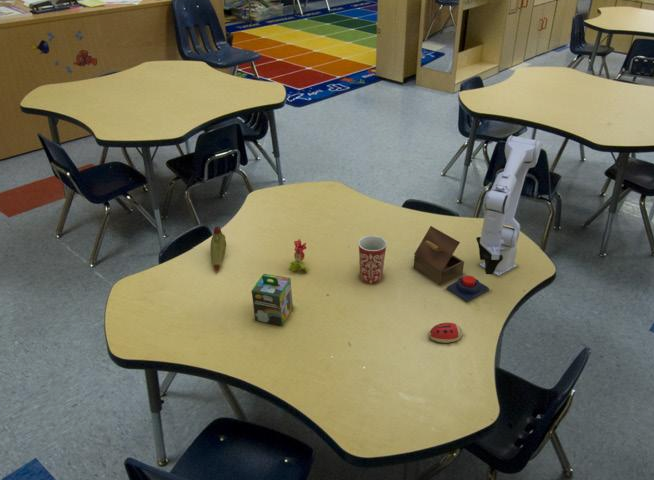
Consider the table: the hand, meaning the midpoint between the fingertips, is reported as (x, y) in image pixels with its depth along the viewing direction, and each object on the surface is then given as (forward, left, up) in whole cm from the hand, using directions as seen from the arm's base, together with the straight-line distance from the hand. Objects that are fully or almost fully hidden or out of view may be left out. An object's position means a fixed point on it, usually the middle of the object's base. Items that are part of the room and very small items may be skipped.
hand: (486, 266), depth 180 cm
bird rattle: (+39, -46, -10) cm, 61 cm away
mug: (+22, -28, -10) cm, 37 cm away
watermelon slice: (+25, +8, -10) cm, 28 cm away
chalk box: (+59, -30, -10) cm, 67 cm away
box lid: (+5, -16, 0) cm, 17 cm away
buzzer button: (+3, -3, -7) cm, 8 cm away
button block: (+4, -3, -9) cm, 10 cm away
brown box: (+4, -16, -9) cm, 19 cm away
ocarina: (+58, -68, -10) cm, 90 cm away
